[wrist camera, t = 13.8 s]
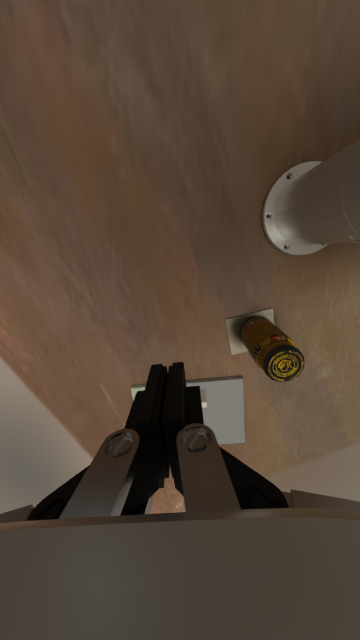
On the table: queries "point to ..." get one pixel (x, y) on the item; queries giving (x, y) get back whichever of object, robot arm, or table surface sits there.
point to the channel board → (219, 406)
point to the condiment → (265, 345)
